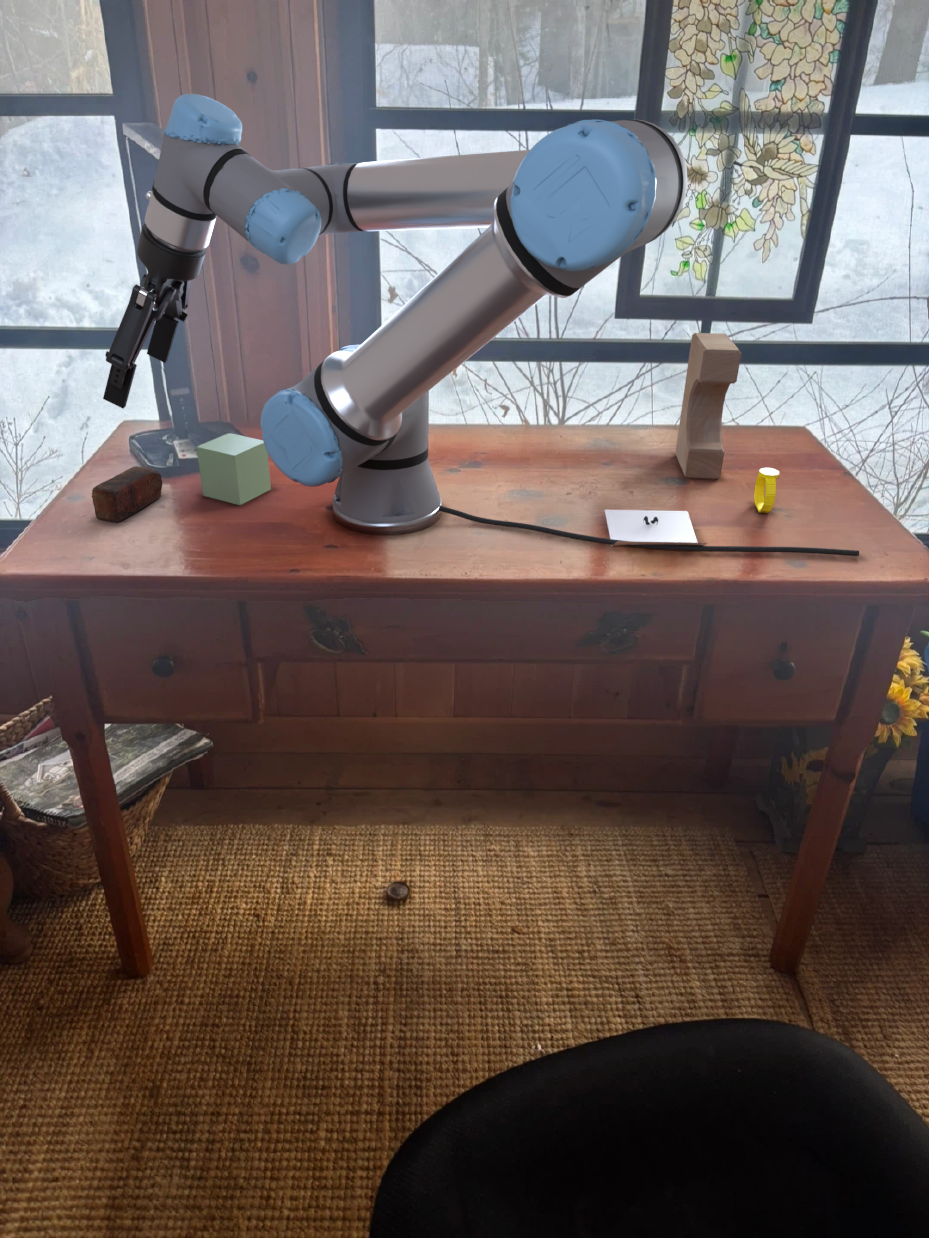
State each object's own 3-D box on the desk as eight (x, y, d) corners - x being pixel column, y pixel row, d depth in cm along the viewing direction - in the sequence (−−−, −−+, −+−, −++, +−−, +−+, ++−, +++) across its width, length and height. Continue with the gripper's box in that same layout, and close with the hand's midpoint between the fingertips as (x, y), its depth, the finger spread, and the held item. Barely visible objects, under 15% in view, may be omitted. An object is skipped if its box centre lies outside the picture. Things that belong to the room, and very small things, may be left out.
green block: (271, 489, 136) (266, 441, 132) (240, 505, 131) (234, 455, 127) (234, 480, 139) (229, 432, 135) (202, 495, 133) (196, 446, 130)
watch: (747, 500, 136) (754, 462, 133) (766, 501, 136) (773, 463, 133) (756, 517, 131) (764, 478, 128) (776, 518, 131) (784, 478, 128)
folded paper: (686, 518, 130) (688, 505, 129) (706, 556, 119) (708, 542, 118) (602, 516, 130) (603, 504, 129) (614, 554, 119) (616, 541, 118)
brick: (120, 524, 124) (114, 492, 122) (95, 520, 125) (89, 488, 123) (165, 496, 133) (160, 465, 131) (141, 492, 134) (136, 462, 132)
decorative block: (720, 480, 143) (742, 351, 132) (683, 479, 143) (702, 349, 133) (709, 455, 152) (729, 333, 142) (674, 454, 152) (692, 332, 142)
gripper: (185, 189, 117) (147, 328, 130) (98, 255, 98) (64, 409, 112) (239, 219, 119) (197, 353, 132) (164, 289, 100) (123, 437, 113)
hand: (136, 379), depth 122 cm, fingers open, 13 cm apart
